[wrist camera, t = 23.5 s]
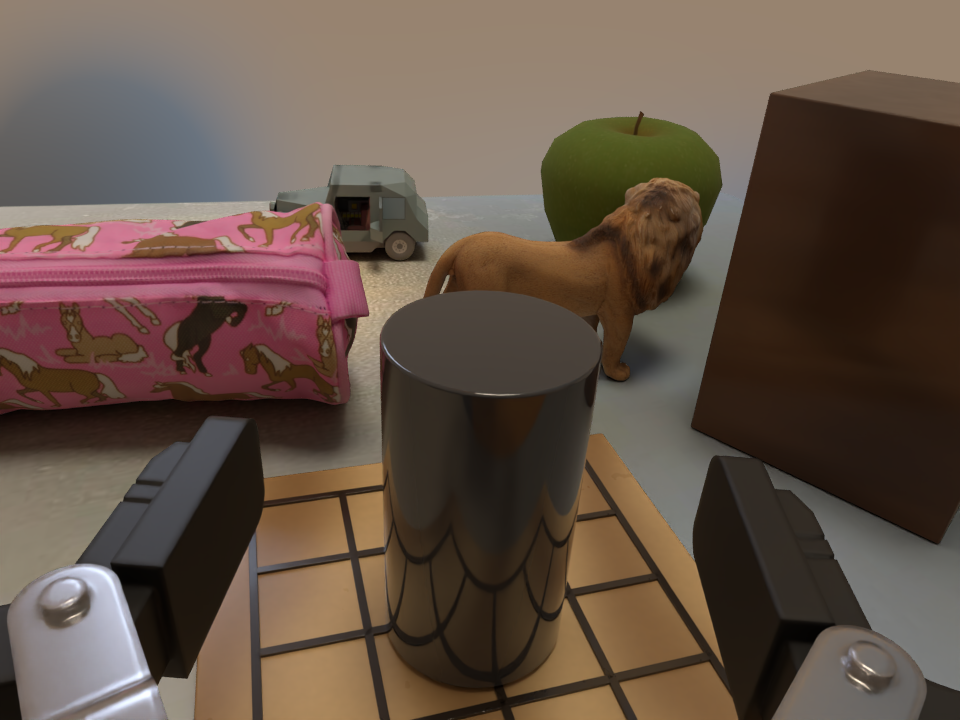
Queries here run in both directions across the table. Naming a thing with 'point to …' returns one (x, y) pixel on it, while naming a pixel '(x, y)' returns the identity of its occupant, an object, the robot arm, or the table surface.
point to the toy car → (369, 208)
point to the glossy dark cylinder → (482, 478)
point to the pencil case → (178, 310)
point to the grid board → (408, 693)
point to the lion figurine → (590, 263)
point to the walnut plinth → (849, 298)
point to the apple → (621, 169)
